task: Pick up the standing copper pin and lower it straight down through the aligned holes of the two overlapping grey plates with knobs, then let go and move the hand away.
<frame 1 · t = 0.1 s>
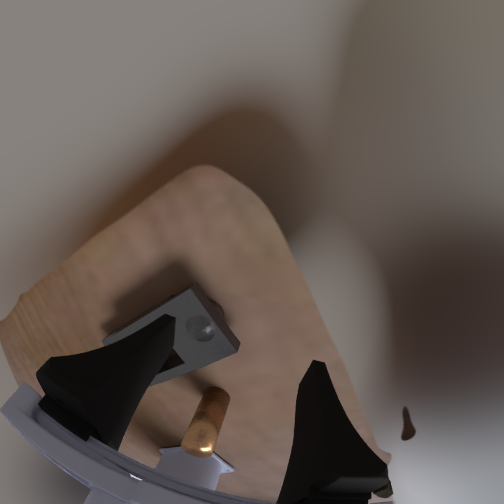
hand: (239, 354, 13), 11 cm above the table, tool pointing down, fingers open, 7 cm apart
copper pin: (217, 396, 27), on the table
hand tool: (371, 462, 28), on the table
grey plate with knobs: (166, 336, 26), on the table
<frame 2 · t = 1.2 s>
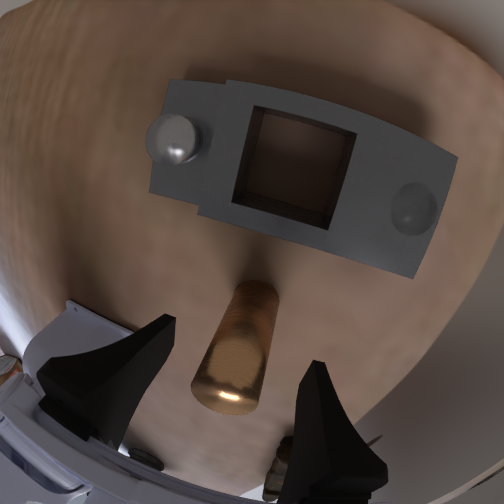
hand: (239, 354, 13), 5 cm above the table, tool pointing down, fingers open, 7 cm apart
copper pin: (256, 300, 18), on the table
hand tool: (286, 462, 28), on the table
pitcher: (150, 461, 37), on the table
grey plate with knobs: (295, 163, 14), on the table
tin: (15, 358, 36), on the table
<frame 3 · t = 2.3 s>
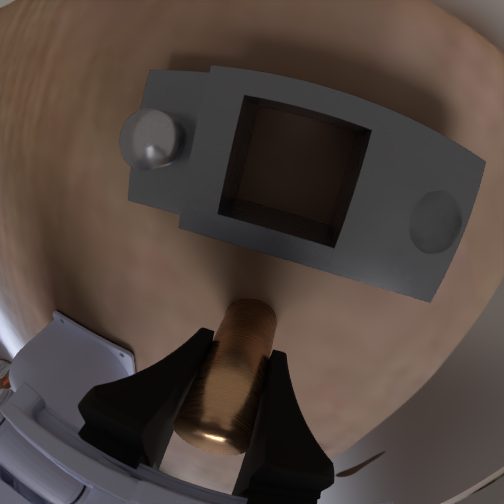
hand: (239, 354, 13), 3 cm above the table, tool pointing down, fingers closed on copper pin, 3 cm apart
copper pin: (250, 320, 16), on the table, touching gripper
grey plate with knobs: (295, 165, 12), on the table
tin: (10, 363, 34), on the table
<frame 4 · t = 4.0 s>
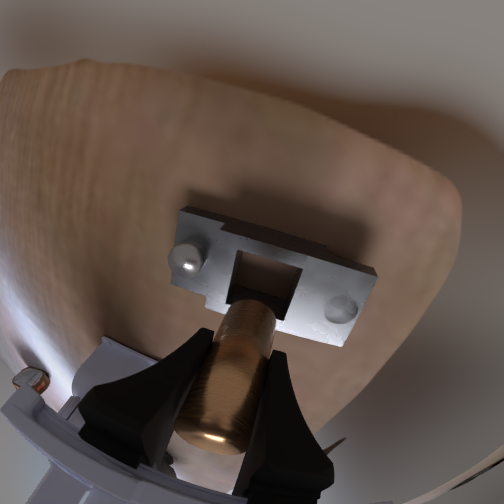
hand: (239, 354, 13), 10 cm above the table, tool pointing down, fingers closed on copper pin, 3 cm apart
copper pin: (250, 320, 16), point 7 cm above the table, touching gripper
grey plate with knobs: (267, 269, 22), on the table
tin: (39, 370, 44), on the table
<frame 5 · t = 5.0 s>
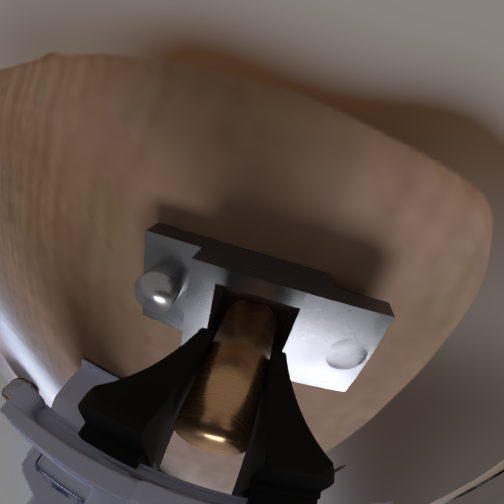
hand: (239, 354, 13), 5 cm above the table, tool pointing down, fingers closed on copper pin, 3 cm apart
copper pin: (250, 320, 16), point 2 cm above the table, touching gripper
grey plate with knobs: (257, 300, 18), on the table
tin: (28, 382, 40), on the table
when the fingers open (4 cm above the table, at t = 5.7 s): copper pin stays where it is, resting in grey plate with knobs.
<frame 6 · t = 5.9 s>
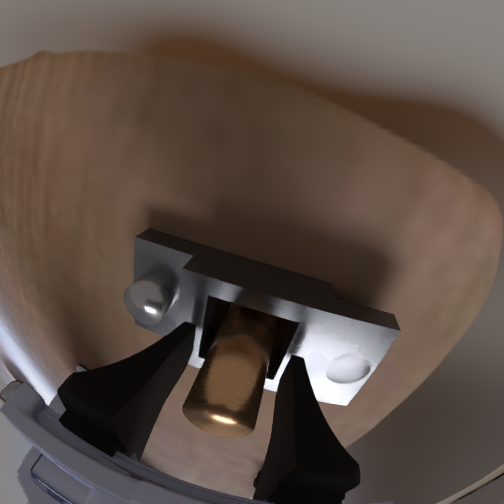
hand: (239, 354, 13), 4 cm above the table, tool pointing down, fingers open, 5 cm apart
copper pin: (254, 311, 16), resting in grey plate with knobs
grey plate with knobs: (254, 311, 16), on the table
tin: (26, 385, 39), on the table
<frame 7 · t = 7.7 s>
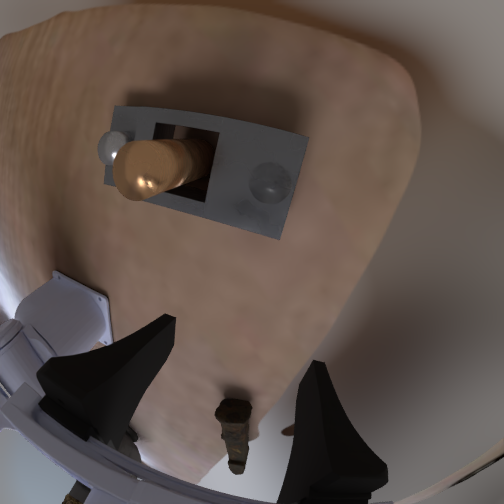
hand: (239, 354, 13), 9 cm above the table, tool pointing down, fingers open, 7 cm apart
copper pin: (196, 158, 19), resting in grey plate with knobs
hand tool: (244, 431, 33), on the table
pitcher: (126, 432, 42), on the table
grey plate with knobs: (196, 157, 19), on the table
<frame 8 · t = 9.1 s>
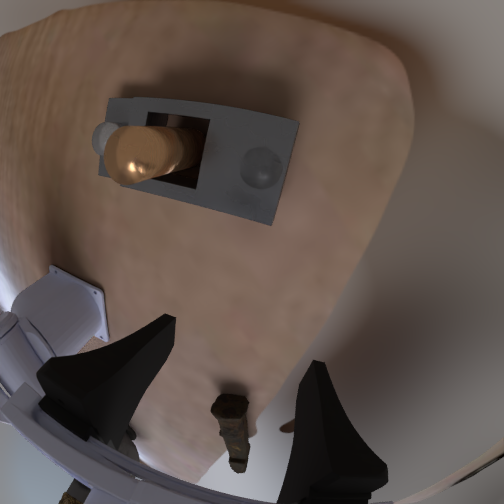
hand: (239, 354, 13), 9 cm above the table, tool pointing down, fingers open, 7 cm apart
copper pin: (189, 147, 19), resting in grey plate with knobs
hand tool: (244, 429, 32), on the table
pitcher: (124, 430, 42), on the table
grey plate with knobs: (189, 147, 19), on the table
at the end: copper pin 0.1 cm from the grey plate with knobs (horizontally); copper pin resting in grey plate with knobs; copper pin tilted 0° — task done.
